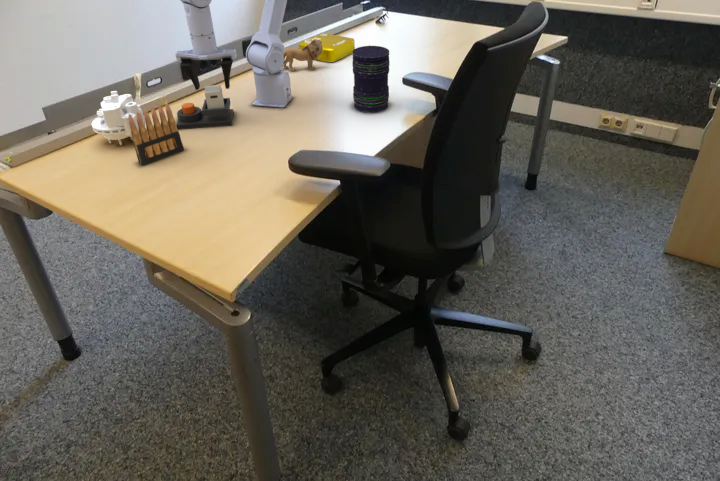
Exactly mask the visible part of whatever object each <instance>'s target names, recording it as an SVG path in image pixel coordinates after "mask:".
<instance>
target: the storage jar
mask: <svg viewBox="0 0 720 481" xmlns="http://www.w3.org/2000/svg"><path fill="white" fill-rule="evenodd" d="M351 63H352V64H351V65H352V74H353V87H352V88H353V89H352V91H353V93H352V97H353V98H352V99H353V108H354V109H355V110H356V111H358V112H361V113H364V114H365V113H366V114H367V113H368V114H376V113H381V112H383V111H386V110H387V109H388V108H389V99H390V92H389V91H390V86H389V73H390V50H389V49H388V48H386V47H384V46H379V45H364V46H359V47H356V48H355V49H354V50H353V53H352V62H351Z"/></svg>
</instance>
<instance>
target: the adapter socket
mask: <svg viewBox="0 0 720 481" xmlns="http://www.w3.org/2000/svg"><path fill="white" fill-rule="evenodd" d="M223 100H224V106H225V108H218V109H208V107H207V102H206V98H205V99H204V101H203V104H202V108H201V110H202V114H203V116H209V115H223V114H229V109H231V98H230V97H223Z"/></svg>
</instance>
